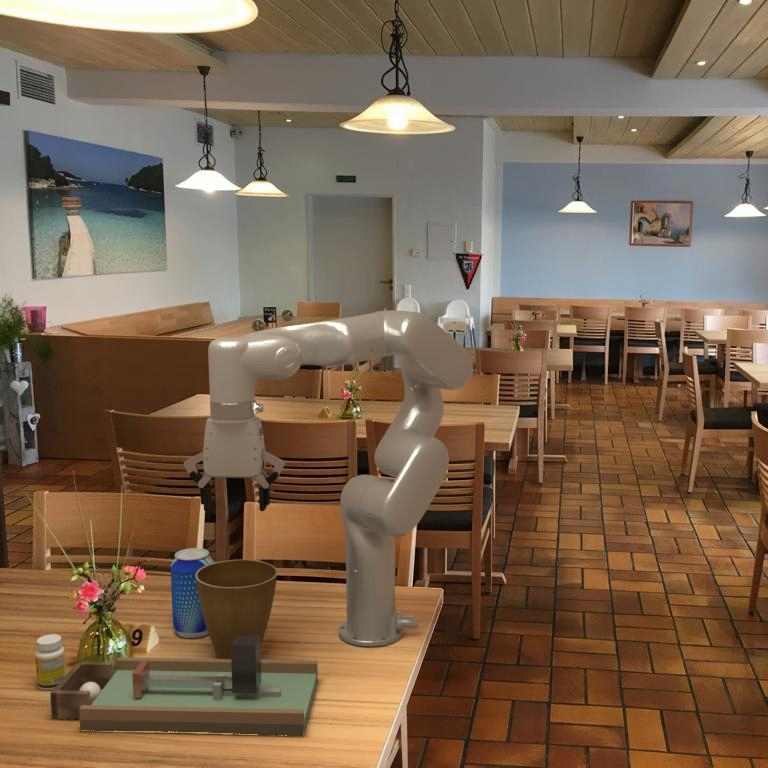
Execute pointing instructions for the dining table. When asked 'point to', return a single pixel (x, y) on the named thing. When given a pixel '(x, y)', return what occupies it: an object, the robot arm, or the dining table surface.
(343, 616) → the dining table surface
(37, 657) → the supplement bottle
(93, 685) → the ball
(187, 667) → the pitch
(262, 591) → the plant pot
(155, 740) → the dining table surface
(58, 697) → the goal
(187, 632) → the beer can
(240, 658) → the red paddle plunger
